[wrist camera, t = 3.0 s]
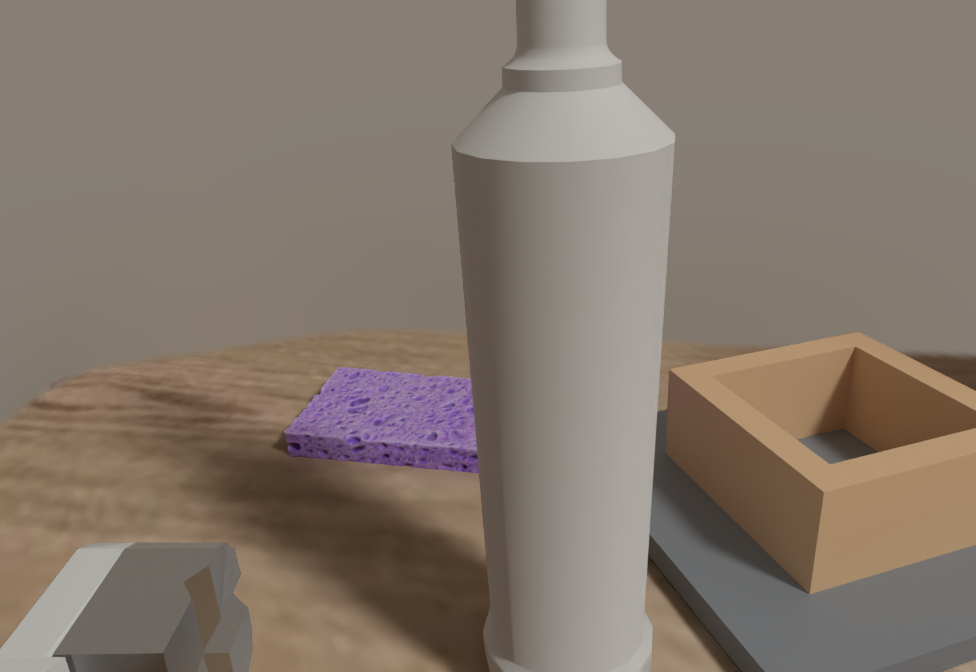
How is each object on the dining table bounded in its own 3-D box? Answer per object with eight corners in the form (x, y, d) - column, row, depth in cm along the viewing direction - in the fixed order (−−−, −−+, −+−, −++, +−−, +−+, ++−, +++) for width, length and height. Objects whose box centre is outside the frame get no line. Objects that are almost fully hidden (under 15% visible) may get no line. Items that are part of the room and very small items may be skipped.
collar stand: (852, 386, 42) (866, 295, 39) (1186, 586, 27) (1233, 460, 25) (564, 450, 37) (563, 352, 35) (784, 725, 23) (803, 587, 21)
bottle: (560, 591, 29) (548, -263, 19) (686, 669, 25) (753, -328, 15) (451, 673, 26) (366, -303, 15) (576, 777, 22) (572, -398, 12)
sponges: (342, 396, 44) (338, 365, 44) (571, 412, 42) (571, 379, 41) (285, 465, 38) (279, 431, 37) (549, 490, 35) (549, 453, 35)
